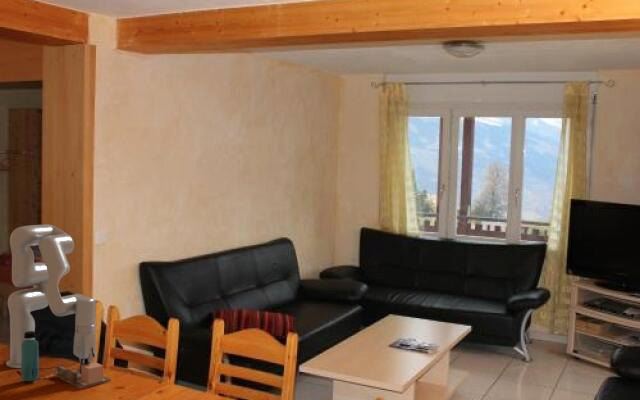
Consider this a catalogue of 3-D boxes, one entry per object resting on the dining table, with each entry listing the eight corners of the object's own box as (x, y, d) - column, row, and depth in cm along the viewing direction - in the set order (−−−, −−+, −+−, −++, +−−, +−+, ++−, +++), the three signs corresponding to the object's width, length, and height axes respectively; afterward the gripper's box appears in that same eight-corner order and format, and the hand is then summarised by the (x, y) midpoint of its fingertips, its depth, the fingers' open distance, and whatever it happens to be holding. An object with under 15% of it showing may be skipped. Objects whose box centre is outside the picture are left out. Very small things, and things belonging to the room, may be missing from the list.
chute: (56, 376, 270) (56, 366, 270) (86, 369, 280) (86, 360, 279) (79, 389, 256) (79, 378, 256) (110, 381, 266) (110, 371, 266)
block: (81, 380, 263) (81, 365, 262) (95, 376, 267) (95, 362, 267) (88, 384, 259) (88, 368, 258) (102, 380, 263) (103, 365, 263)
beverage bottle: (32, 385, 259) (32, 334, 258) (17, 383, 260) (17, 333, 259) (42, 380, 265) (42, 330, 264) (27, 378, 266) (27, 329, 265)
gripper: (67, 326, 268) (67, 371, 269) (85, 334, 258) (85, 380, 259) (85, 323, 274) (84, 367, 275) (103, 330, 263) (103, 376, 265)
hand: (84, 373), depth 267 cm, fingers closed
